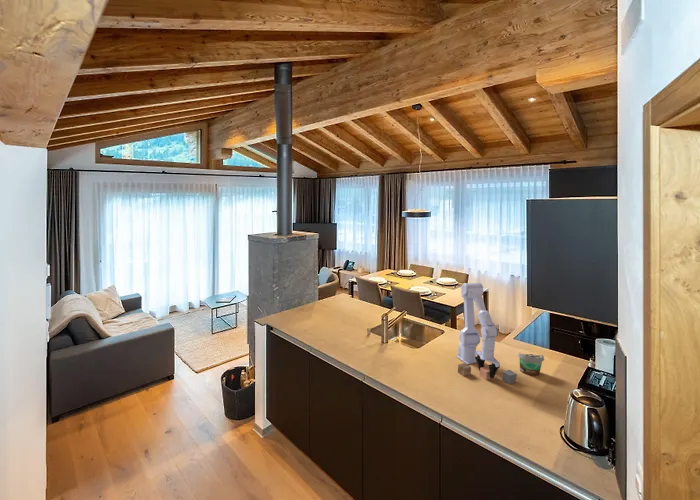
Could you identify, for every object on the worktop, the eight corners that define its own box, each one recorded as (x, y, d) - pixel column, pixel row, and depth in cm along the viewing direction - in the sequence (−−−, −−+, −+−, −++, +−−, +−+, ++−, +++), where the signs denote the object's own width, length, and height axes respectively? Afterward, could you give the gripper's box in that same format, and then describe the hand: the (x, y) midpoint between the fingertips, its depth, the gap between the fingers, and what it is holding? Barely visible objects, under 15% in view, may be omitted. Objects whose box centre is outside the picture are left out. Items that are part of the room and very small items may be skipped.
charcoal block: (502, 379, 176) (502, 371, 175) (509, 378, 177) (509, 369, 177) (509, 384, 172) (509, 375, 171) (516, 382, 173) (516, 373, 172)
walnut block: (457, 372, 183) (458, 364, 182) (464, 370, 184) (465, 362, 184) (463, 376, 179) (464, 368, 178) (470, 374, 180) (471, 366, 179)
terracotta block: (479, 376, 179) (480, 367, 178) (486, 374, 181) (487, 366, 180) (485, 380, 175) (486, 371, 174) (492, 378, 177) (493, 370, 176)
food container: (520, 376, 179) (522, 357, 177) (516, 370, 185) (518, 352, 183) (546, 378, 177) (548, 359, 176) (541, 372, 183) (543, 354, 182)
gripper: (471, 344, 181) (470, 368, 183) (492, 356, 167) (490, 382, 169) (482, 342, 183) (481, 366, 185) (504, 353, 170) (502, 379, 172)
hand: (486, 373), depth 178 cm, fingers open, 7 cm apart
